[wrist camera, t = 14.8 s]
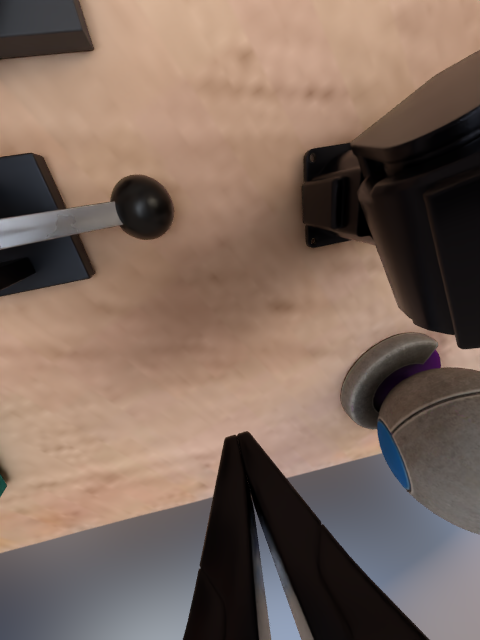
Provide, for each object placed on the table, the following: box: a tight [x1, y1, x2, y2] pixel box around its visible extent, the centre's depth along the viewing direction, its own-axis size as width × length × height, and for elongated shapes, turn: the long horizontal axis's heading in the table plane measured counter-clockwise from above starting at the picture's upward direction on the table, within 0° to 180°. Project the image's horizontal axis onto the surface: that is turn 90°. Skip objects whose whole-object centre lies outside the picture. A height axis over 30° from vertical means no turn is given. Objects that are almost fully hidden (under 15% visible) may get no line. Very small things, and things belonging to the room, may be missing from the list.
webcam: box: [341, 333, 480, 534], centre depth 22 cm, size 13×13×15 cm
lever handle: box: [0, 175, 174, 250], centre depth 11 cm, size 14×3×3 cm, turn 99°
